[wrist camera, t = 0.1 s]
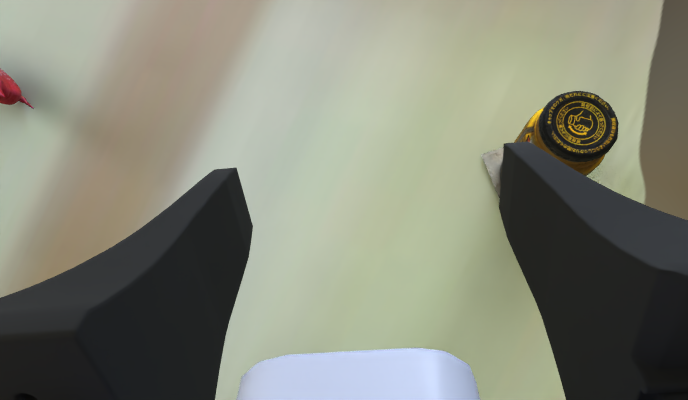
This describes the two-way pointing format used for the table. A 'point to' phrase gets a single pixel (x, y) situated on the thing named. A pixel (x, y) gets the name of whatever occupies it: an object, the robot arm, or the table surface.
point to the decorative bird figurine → (10, 90)
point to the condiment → (566, 133)
